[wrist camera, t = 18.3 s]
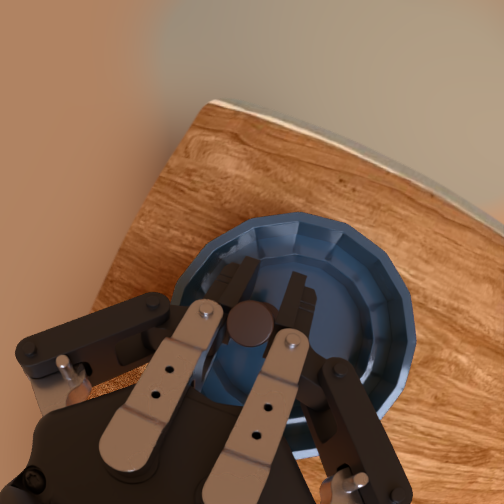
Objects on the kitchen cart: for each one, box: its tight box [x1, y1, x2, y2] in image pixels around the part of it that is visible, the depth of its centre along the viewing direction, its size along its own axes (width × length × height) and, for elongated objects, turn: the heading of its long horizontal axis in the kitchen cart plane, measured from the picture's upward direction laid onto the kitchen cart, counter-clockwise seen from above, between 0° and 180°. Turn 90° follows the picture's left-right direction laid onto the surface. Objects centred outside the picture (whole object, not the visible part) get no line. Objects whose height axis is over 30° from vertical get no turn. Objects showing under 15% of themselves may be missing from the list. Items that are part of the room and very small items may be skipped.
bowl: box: [170, 212, 417, 460], centre depth 17 cm, size 14×14×6 cm
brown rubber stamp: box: [226, 300, 279, 347], centre depth 14 cm, size 2×2×9 cm
